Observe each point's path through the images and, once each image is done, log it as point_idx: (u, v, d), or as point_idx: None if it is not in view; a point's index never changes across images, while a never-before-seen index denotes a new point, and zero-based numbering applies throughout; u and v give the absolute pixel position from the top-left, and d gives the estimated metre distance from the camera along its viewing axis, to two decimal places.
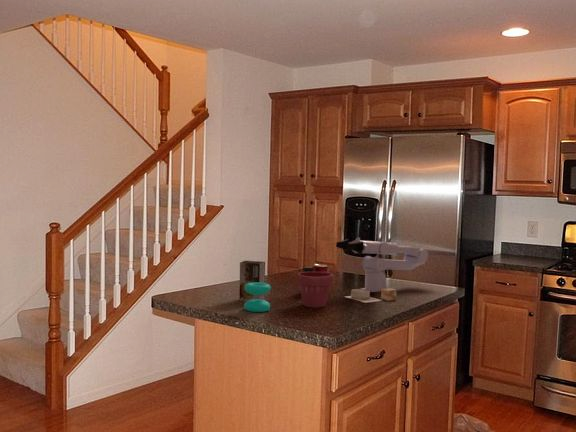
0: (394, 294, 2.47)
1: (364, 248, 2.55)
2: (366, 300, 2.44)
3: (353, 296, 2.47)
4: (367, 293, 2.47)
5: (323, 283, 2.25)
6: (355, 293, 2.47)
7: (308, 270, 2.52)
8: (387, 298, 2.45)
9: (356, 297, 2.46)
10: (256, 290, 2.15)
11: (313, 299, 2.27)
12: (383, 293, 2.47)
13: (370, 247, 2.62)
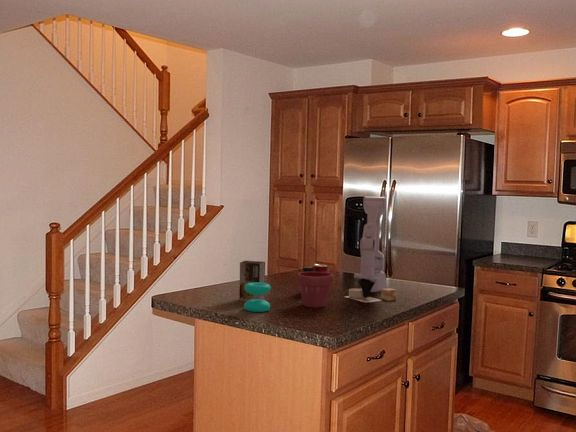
0: (394, 294, 2.47)
1: (378, 282, 2.41)
2: (366, 300, 2.44)
3: (351, 295, 2.48)
4: None
5: (323, 283, 2.25)
6: (352, 292, 2.48)
7: (308, 270, 2.52)
8: (387, 298, 2.45)
9: (354, 296, 2.47)
10: (256, 290, 2.15)
11: (313, 299, 2.27)
12: (383, 293, 2.47)
13: (374, 264, 2.45)
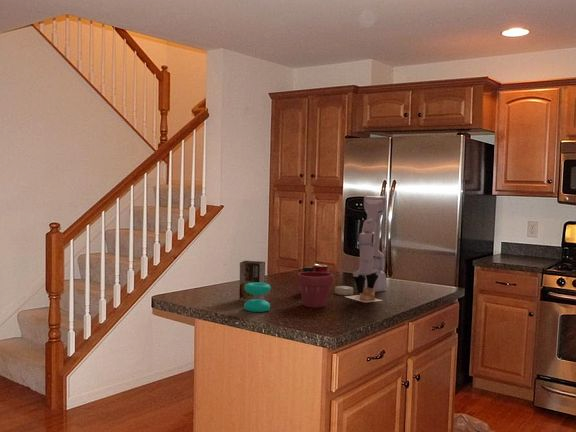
0: (372, 293, 2.45)
1: (356, 276, 2.42)
2: (366, 300, 2.44)
3: (337, 293, 2.56)
4: (350, 290, 2.55)
5: (323, 283, 2.25)
6: (338, 290, 2.55)
7: (308, 270, 2.52)
8: (365, 297, 2.44)
9: (340, 294, 2.55)
10: (256, 290, 2.15)
11: (313, 299, 2.27)
12: (361, 293, 2.46)
13: (372, 259, 2.45)
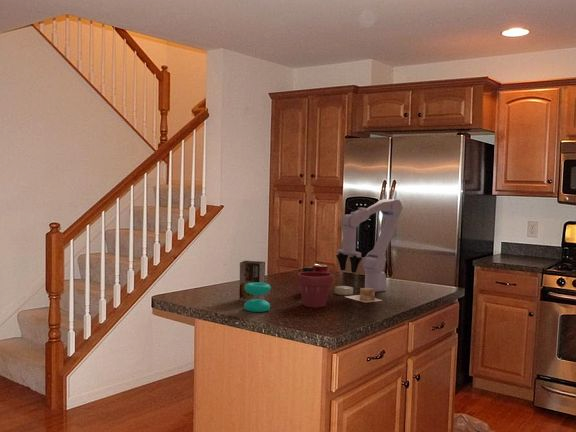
0: (373, 294, 2.45)
1: (359, 257, 2.54)
2: None
3: (337, 293, 2.56)
4: (350, 290, 2.55)
5: (323, 283, 2.25)
6: (338, 290, 2.55)
7: (308, 270, 2.52)
8: (366, 298, 2.43)
9: (340, 294, 2.55)
10: (256, 290, 2.15)
11: (313, 299, 2.27)
12: (362, 293, 2.45)
13: (353, 240, 2.56)
